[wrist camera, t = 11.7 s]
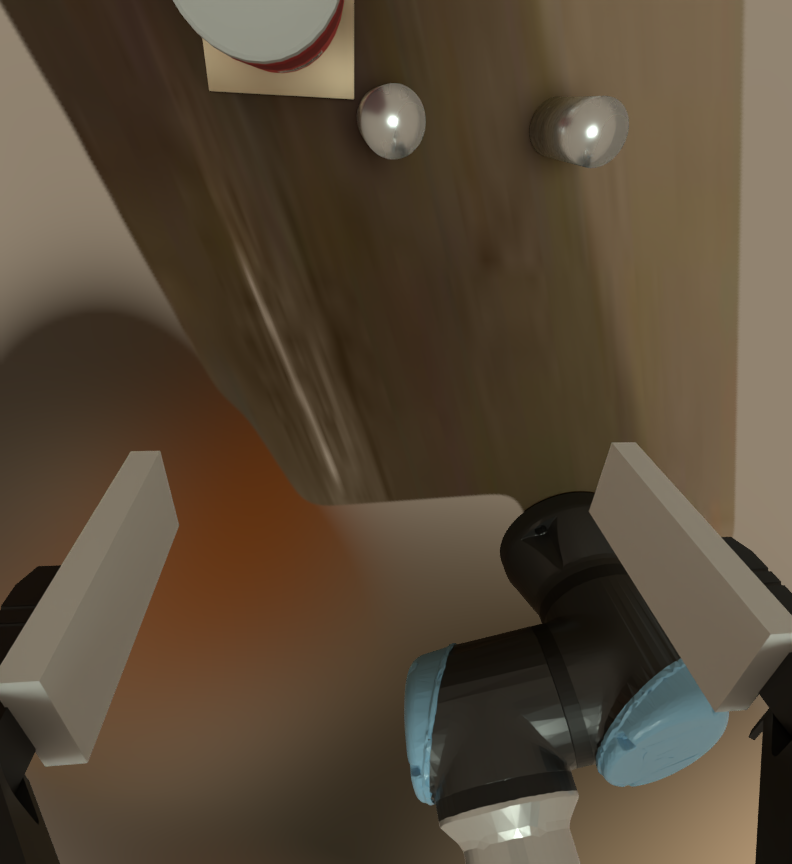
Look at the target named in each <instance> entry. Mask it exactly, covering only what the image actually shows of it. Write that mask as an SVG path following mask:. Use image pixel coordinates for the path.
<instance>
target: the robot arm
mask: <svg viewBox="0 0 792 864" xmlns="http://www.w3.org/2000/svg"><path fill="white" fill-rule="evenodd" d="M178 526H179V523H178V519H177V516H176V512H175V508H174V504H173V500H172V496H171V492H170V488H169V484H168V480H167V476H166V472H165V468H164V464H163V461H162V456H161V453H160V451H131V452H130V454H129V456H128V457H127V459H126V460H125V462H124V464H123V466H122V467H121V469H120V470H119V472H118V473H117V475H116V477H115V478H114V480H113V482H112V483H111V485H110V487H109V488H108V490H107V492H106V493H105V495H104V497H103V498H102V500H101V501H100V503H99V505H98V506H97V508H96V509H95V511H94V513H93V515H92V516H91V518H90V520H89V521H88V523H87V524H86V526H85V528H84V529H83V531H82V533H81V534H80V536H79V538H78V539H77V541H76V542H75V544H74V546H73V547H72V549H71V551H70V552H69V554H68V556H67V557H66V559H65V561H64V562H63V564H62V565H60V566H38V567H37V568H35V569H34V570H33V571H32V572H31V573H29V574H28V575H27V576H26V577H25V578H23V579H22V580H21V581H20V582H19V583H17V584H16V585H15V587H14V588H13V590H12V591H11V592H10V594H9V595H8V597H7V598H6V600H5V601H4V603H3V604H2V606H1V610H0V864H60V862H59V860H58V857H57V854H56V852H55V849H54V846H53V844H52V841H51V838H50V836H49V833H48V830H47V828H46V825H45V822H44V820H43V817H42V815H41V812H40V809H39V806H38V803H37V801H36V798H35V795H34V793H33V790H32V787H31V785H30V782H29V780H28V779H27V777H26V776H25V772H26V770H27V768H28V766H29V764H30V761H31V759H32V757H33V755H34V753H35V752H36V754H37V755H38V757H39V758H40V759H41V761H42V762H43V764H44V765H45V766H56V765H69V764H82V763H88V760H89V758H90V755H91V753H92V750H93V747H94V745H95V742H96V740H97V737H98V734H99V732H100V729H101V726H102V724H103V721H104V719H105V716H106V714H107V711H108V708H109V706H110V703H111V701H112V698H113V695H114V693H115V690H116V688H117V685H118V682H119V679H120V677H121V675H122V672H123V669H124V667H125V664H126V662H127V659H128V656H129V654H130V651H131V649H132V646H133V643H134V641H135V638H136V636H137V633H138V630H139V627H140V625H141V622H142V620H143V617H144V615H145V612H146V610H147V607H148V604H149V602H150V599H151V597H152V594H153V591H154V588H155V586H156V584H157V581H158V578H159V576H160V573H161V571H162V568H163V565H164V563H165V560H166V558H167V555H168V552H169V550H170V547H171V545H172V542H173V540H174V537H175V534H176V532H177V529H178ZM500 556H501V561H502V564H503V566H504V569H505V572H506V574H507V577H508V579H509V580H510V582H511V583H512V585H513V586H514V587H515V588H516V589H517V590H518V591H519V592H520V594H521V595H522V596H523V597H524V599H525V600H526V601H527V602H528V603H529V604H530V606H531V607H532V608H533V609H534V610H535V611H536V612H537V614H538V615H539V617H540V619H541V622H542V624H539V625H535V626H531V627H526V628H522V629H518V630H514V631H510V632H506V633H502V634H498V635H494V636H490V637H486V638H482V639H478V640H474V641H470V642H466V643H461V644H456V643H453V644H450V645H449V646H448V647H446V648H443V649H440V650H436V651H433V652H430V653H427V654H424V655H421V656H420V657H418V658H417V659H416V660H415V661H414V662H413V663H412V665H411V667H410V669H409V672H408V675H407V680H406V687H405V704H404V708H405V711H404V712H405V713H404V714H405V734H406V746H407V755H408V761H409V763H410V764H411V765H410V769H411V779H412V783H413V788H414V790H415V793H416V796H417V797H418V799H419V800H421V802H423V803H427V804H429V805H433V804H435V803H436V808H437V814H438V819H439V825H440V828H441V829H442V830H443V831H444V832H446V833H447V834H448V835H449V836H450V837H451V838H452V839H453V840H455V841H456V842H457V843H458V844H459V846H460V847H461V849H462V850H463V852H464V856H465V862H466V864H581V863H580V860H579V857H578V854H577V851H576V848H575V844H574V841H573V838H572V835H571V832H570V828H569V827H570V819H571V816H572V814H573V810H574V808H575V805H576V803H577V801H578V798H579V794H578V792H577V789H576V786H575V783H574V780H573V777H572V774H571V770H572V769H575V768H579V767H583V766H588V765H593V764H596V766H597V768H598V771H599V773H600V774H602V775H603V776H604V778H605V779H606V780H607V781H608V782H609V783H610V784H612V785H615V786H620V787H624V786H626V785H630V786H639V785H644V784H648V783H651V782H654V781H657V780H660V779H662V778H665V777H667V776H669V775H671V774H674V773H676V772H677V771H679V770H681V769H683V768H685V767H687V766H688V765H690V764H691V763H693V762H694V761H696V760H697V759H699V758H700V757H701V756H703V755H704V754H705V753H706V752H707V751H708V750H710V749H711V748H712V747H713V746H714V745H715V744H716V742H717V741H718V740H719V739H720V737H721V736H722V734H723V733H724V731H725V728H726V726H727V723H728V718H729V711H737V710H738V711H739V710H747V709H748V708H749V706H750V705H751V704H752V703H753V701H754V700H755V699H756V697H757V696H758V695H759V694H760V696H761V697H762V698H763V700H764V701H765V702H766V704H767V705H768V706H769V709H768V711H767V712H766V713H765V714H764V715H763V716H762V718H761V719H760V720H759V721H758V723H757V724H756V725H755V726H754V728H753V729H752V730H751V733H750V735H749V738H751V739H753V740H755V739H756V738H757V737H758V735H759V734H760V733H761V732H763V739H762V756H761V774H760V775H761V776H760V793H759V794H760V795H759V811H758V828H757V845H756V846H757V847H756V863H755V864H792V593H791V592H790V591H789V590H788V589H787V588H786V587H785V586H783V585H781V581H780V580H779V579H778V578H777V577H776V576H775V575H774V574H773V573H772V572H771V571H770V572H769V571H768V567H767V566H766V565H765V564H764V563H763V562H762V561H761V560H760V559H759V558H758V557H757V556H756V555H755V554H754V553H753V552H752V551H751V550H750V549H748V548H747V547H745V546H744V545H742V544H741V543H739V542H738V541H736V540H735V539H733V538H732V537H721V536H720V535H719V534H718V533H717V532H716V531H715V530H714V529H713V528H712V526H711V525H710V524H709V523H708V522H707V521H706V520H705V519H704V518H703V516H702V515H701V514H700V513H699V512H698V511H697V510H696V509H695V508H694V507H693V505H692V504H691V503H690V502H689V501H688V500H687V499H686V498H685V497H684V495H683V494H682V493H681V492H680V491H679V490H678V489H677V488H676V487H675V485H674V484H673V483H672V482H671V481H670V480H669V479H668V478H667V477H666V475H665V474H664V473H663V472H662V471H661V470H660V469H659V468H658V467H657V466H656V464H655V463H654V462H653V461H652V460H651V459H650V458H649V457H648V456H647V454H646V453H645V452H644V451H643V450H642V449H641V448H640V447H639V446H638V444H637V443H636V442H623V443H611V446H610V449H609V452H608V455H607V458H606V461H605V465H604V468H603V471H602V474H601V477H600V480H599V483H598V486H597V489H596V492H595V493H587V492H578V493H568V494H563V495H559V496H555V497H552V498H549V499H547V500H544V501H542V502H540V503H538V504H536V505H534V506H533V507H531V508H530V509H528V510H527V511H525V512H524V513H523V514H521V515H520V516H519V517H518V518H517V519H516V520H515V521H514V522H513V523H512V524H511V526H510V527H509V528H508V530H507V531H506V533H505V535H504V537H503V540H502V543H501V547H500Z"/></svg>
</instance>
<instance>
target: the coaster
mask: <svg viewBox="0 0 792 864" xmlns="http://www.w3.org/2000/svg"><path fill="white" fill-rule="evenodd" d="M202 39H203V38H202ZM203 47H204V54H205V62H206V70H207V77H208V85H209V91H217V92H235V93H253V94H270V95H288V96H306V97H323V98H341V99H354V0H344V5H343V11H342V16H341V21H340V23H339V26H338V29H337V31H336V34H335V36H334V38H333V40H332V41H331V43H330V45H329V46H328V48H327V49H326V50H325V51H324V53H323V54H322V55H321V56H320V57H319V58H318V59H317V60H316V61H314V62H313V63H311V64H310V65H309V66H307V67H305V68H302V69H300V70H298V71H295V72H289V73H273V72H268V71H265V70H262V69H259V68H256V67H253V66H251V65H248V64H245V63H243V62H240V61H237V60H235V59H233V58H231V57H229V56H228V55H226V54H224V53H222V52H221V51H219V50H217V49H216V48H214V47H213V46H211V45H210V44H209V43H208V42H207V41H205V40H204V39H203Z"/></svg>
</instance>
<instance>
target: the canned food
mask: <svg viewBox="0 0 792 864" xmlns="http://www.w3.org/2000/svg"><path fill="white" fill-rule="evenodd" d="M173 1H174V3H175V5H176V6H177V8H178V10H179V11H180V13H181V14H182V15H183V17H184V18H185V19H186V21H187V22H188V23H189V24H190V25H191V27H192V28H193V29H194V30H195V31H196V32H197V34H198V35H200V36H201V37H202V38H203V39H204V40H205V41H207V42H208V43H209V44H210V45H211V46H213V47H214V48H216V49H217V50H219V51H221V52H222V53H224V54H226V55H228V56H229V57H231V58H233V59H235V60H237V61H240V62H243V63H245V64H248V65H251V66H253V67H256V68H259V69H262V70H265V71H268V72H273V73H289V72H295V71H298V70H300V69H302V68H305V67H307V66H309V65H310V64H311V63H313V62H314V61H316V60H317V59H318V58H319V57H320V56H321V55H322V54H323V53H324V51H325V50H326V49H327V48H328V46H329V45H330V43H331V41H332V40H333V38H334V36H335V34H336V31H337V29H338V26H339V23H340V21H341V16H342V11H343V5H344V0H173Z"/></svg>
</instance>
